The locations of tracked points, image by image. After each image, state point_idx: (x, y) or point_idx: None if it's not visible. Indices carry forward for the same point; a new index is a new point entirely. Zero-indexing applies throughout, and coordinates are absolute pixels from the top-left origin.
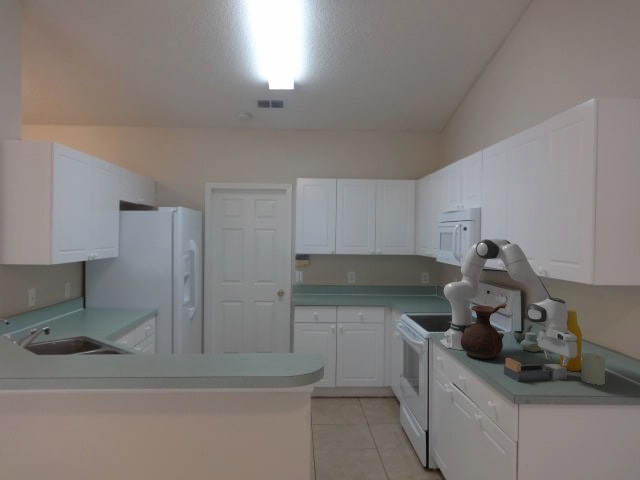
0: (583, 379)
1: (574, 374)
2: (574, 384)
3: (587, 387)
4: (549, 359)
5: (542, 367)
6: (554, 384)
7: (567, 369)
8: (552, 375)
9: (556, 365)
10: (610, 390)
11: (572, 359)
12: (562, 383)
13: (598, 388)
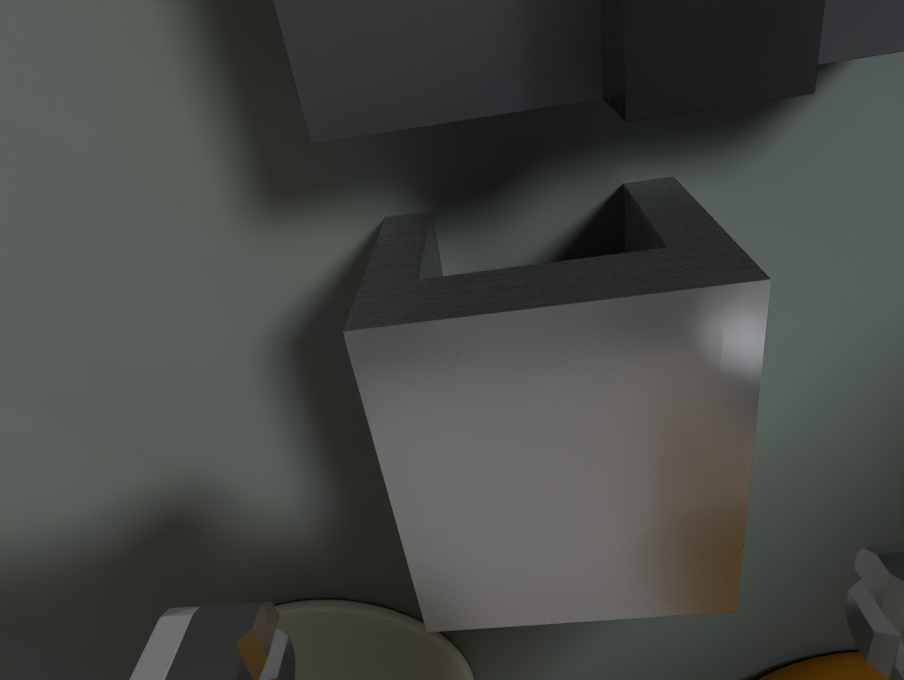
0: (326, 622)
1: (606, 649)
2: (158, 420)
3: (66, 510)
4: (860, 580)
5: (605, 100)
6: (47, 30)
7: (784, 677)
8: (408, 241)
9: (618, 548)
10: (38, 666)
11: None
12: (163, 253)
13: (70, 601)
